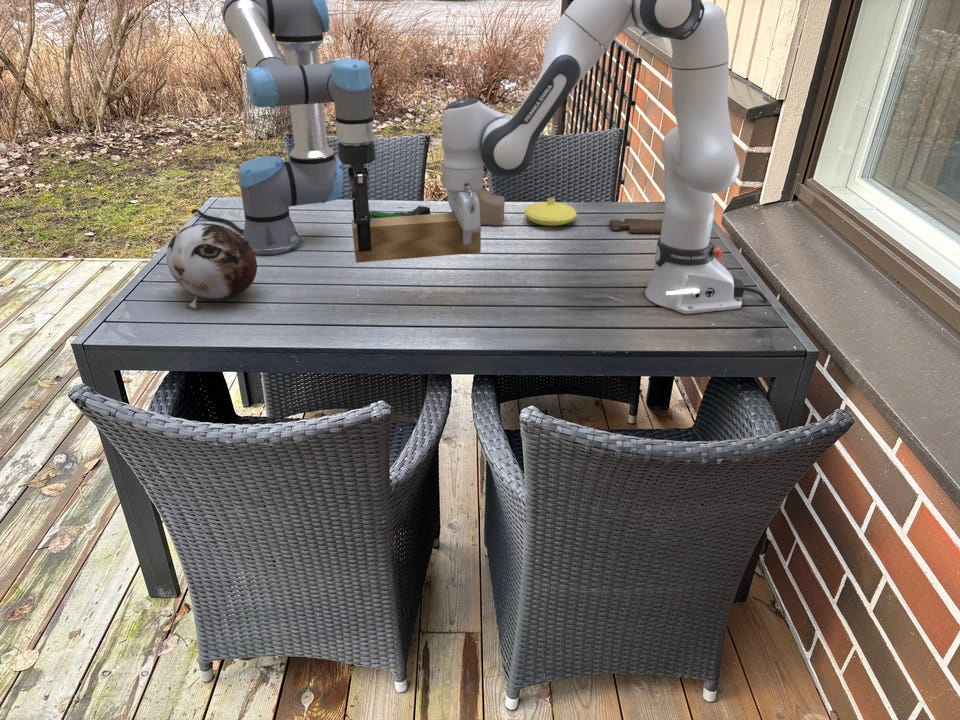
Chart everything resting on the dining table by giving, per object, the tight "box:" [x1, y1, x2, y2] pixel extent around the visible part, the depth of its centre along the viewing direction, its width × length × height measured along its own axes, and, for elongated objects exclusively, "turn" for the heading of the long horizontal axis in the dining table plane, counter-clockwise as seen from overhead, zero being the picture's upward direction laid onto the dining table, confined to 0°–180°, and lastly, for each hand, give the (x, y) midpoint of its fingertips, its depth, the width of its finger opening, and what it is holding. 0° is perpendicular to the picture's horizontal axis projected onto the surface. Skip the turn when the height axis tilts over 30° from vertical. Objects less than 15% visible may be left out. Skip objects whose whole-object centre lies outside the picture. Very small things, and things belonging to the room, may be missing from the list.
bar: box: [351, 212, 482, 263], centre depth 160 cm, size 28×5×8 cm, turn 102°
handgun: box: [369, 205, 431, 218], centre depth 216 cm, size 16×3×15 cm
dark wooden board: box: [608, 218, 663, 234], centre depth 212 cm, size 26×2×10 cm
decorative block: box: [451, 186, 506, 227], centre depth 208 cm, size 8×15×30 cm, turn 82°
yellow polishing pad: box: [523, 197, 578, 227], centre depth 214 cm, size 16×16×7 cm
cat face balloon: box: [165, 222, 258, 309], centre depth 165 cm, size 22×18×20 cm
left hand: (362, 238), depth 158 cm, fingers open, 13 cm apart
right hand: (463, 238), depth 162 cm, fingers closed on bar, 5 cm apart
